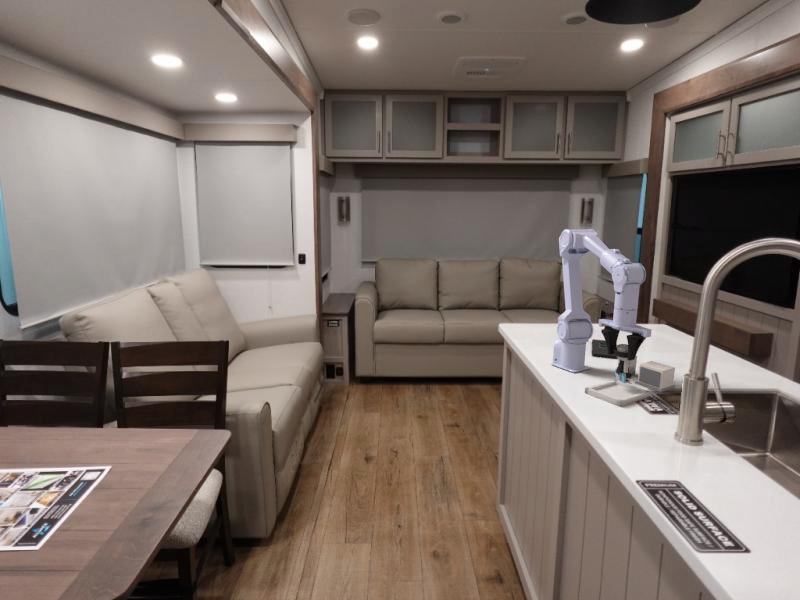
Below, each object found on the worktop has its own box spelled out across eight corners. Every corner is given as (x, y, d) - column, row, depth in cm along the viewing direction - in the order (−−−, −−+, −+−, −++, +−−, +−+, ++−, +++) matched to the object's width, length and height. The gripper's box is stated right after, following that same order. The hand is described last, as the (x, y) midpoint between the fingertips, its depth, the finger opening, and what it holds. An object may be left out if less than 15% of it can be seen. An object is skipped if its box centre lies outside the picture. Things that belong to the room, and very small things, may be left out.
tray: (584, 392, 137) (585, 387, 136) (614, 384, 143) (614, 379, 143) (619, 406, 128) (620, 401, 127) (649, 397, 134) (650, 391, 134)
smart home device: (615, 340, 185) (617, 355, 167) (615, 345, 185) (617, 360, 167) (591, 338, 188) (591, 353, 170) (591, 343, 188) (591, 357, 170)
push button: (639, 385, 134) (642, 350, 131) (620, 386, 133) (623, 352, 131) (626, 375, 140) (628, 342, 137) (608, 376, 140) (610, 343, 137)
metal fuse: (618, 373, 153) (620, 353, 152) (626, 371, 155) (628, 351, 154) (629, 377, 149) (632, 356, 148) (637, 375, 151) (640, 354, 150)
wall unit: (635, 383, 144) (637, 363, 143) (649, 379, 148) (651, 360, 147) (661, 392, 138) (663, 371, 136) (675, 387, 141) (677, 367, 140)
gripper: (593, 305, 136) (589, 352, 139) (641, 315, 124) (636, 366, 127) (609, 302, 140) (605, 348, 142) (658, 312, 128) (652, 362, 130)
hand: (621, 356), depth 135 cm, fingers closed on push button, 5 cm apart
